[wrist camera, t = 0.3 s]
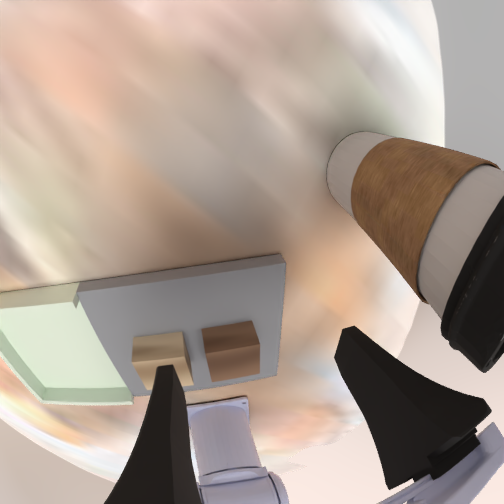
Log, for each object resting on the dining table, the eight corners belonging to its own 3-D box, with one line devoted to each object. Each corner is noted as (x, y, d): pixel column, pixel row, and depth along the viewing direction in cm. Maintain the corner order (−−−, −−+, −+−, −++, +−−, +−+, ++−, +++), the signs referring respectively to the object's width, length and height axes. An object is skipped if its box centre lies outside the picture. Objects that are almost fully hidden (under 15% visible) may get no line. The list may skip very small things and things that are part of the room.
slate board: (273, 366, 28) (276, 375, 27) (133, 386, 25) (133, 396, 24) (280, 253, 21) (286, 262, 20) (79, 282, 18) (75, 292, 17)
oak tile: (190, 361, 23) (193, 385, 21) (146, 366, 22) (147, 390, 20) (182, 331, 21) (184, 356, 19) (133, 337, 20) (131, 362, 18)
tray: (133, 386, 25) (133, 404, 23) (44, 387, 23) (41, 403, 21) (79, 282, 18) (72, 301, 16) (-21, 295, 15) (-31, 311, 14)
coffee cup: (286, 153, 17) (499, 321, 4) (382, 94, 16) (590, 166, 3) (337, 243, 21) (464, 398, 9) (413, 186, 20) (556, 291, 8)
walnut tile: (252, 351, 24) (259, 373, 22) (207, 359, 23) (211, 382, 21) (252, 320, 22) (260, 343, 20) (201, 328, 21) (205, 353, 19)
